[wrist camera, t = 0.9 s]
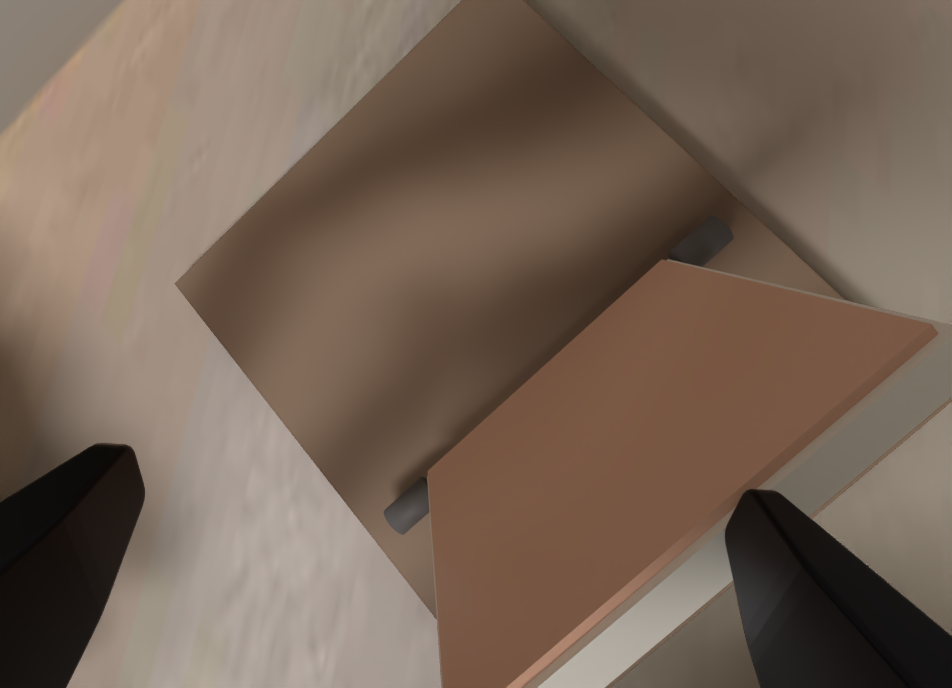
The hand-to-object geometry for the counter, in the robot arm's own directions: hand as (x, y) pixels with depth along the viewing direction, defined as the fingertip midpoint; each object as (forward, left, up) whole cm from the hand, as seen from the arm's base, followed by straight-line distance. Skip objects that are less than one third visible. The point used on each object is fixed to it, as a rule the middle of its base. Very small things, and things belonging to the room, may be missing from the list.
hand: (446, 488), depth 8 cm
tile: (-2, -2, -6) cm, 7 cm away
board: (+3, -2, -12) cm, 13 cm away
